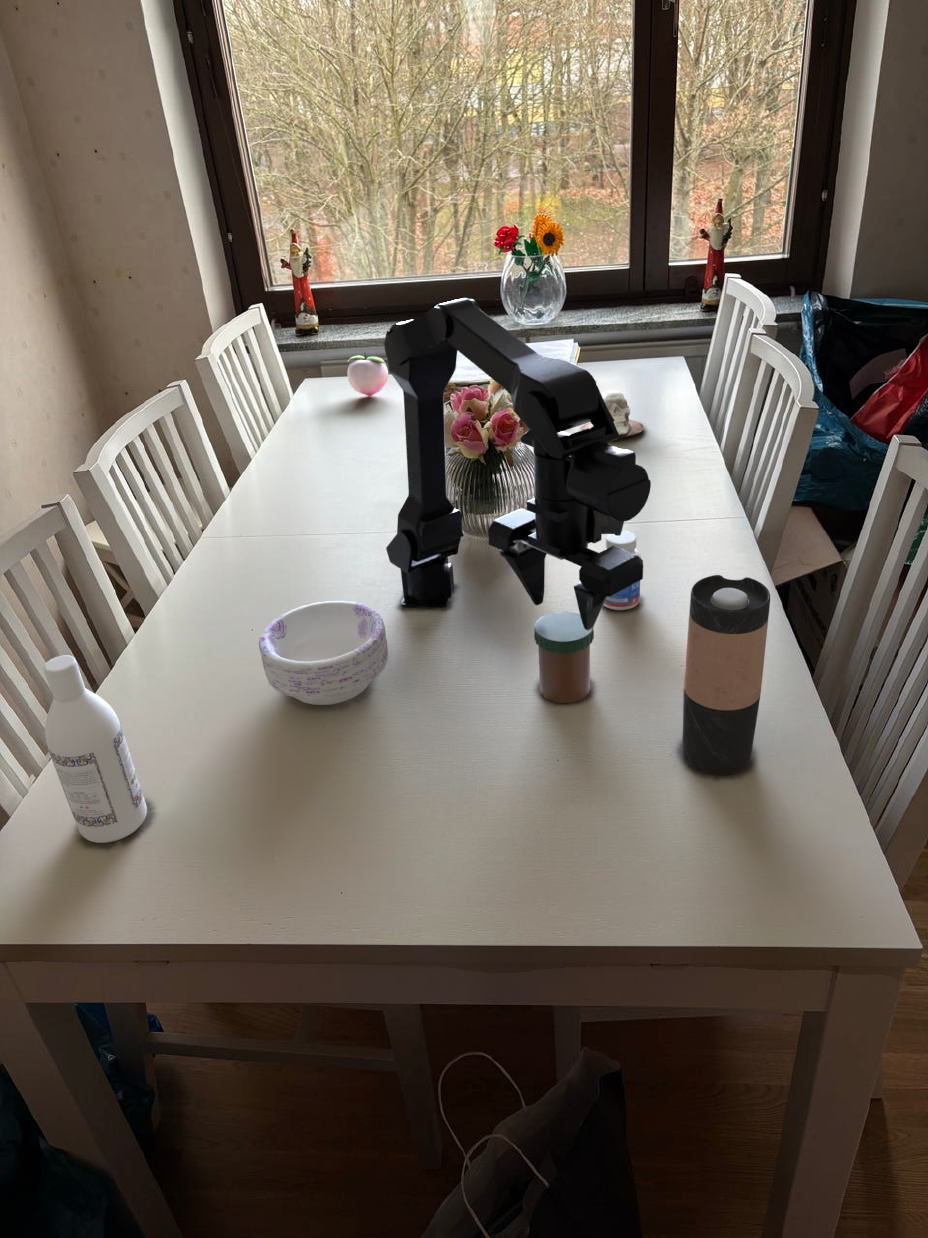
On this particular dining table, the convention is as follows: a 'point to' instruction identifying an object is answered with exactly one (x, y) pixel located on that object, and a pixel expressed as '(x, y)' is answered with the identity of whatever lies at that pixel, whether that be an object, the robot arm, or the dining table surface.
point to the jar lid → (562, 632)
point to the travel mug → (723, 672)
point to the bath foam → (91, 757)
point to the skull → (619, 414)
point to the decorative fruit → (367, 374)
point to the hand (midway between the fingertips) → (563, 615)
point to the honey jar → (564, 675)
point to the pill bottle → (632, 593)
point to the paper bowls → (324, 651)
